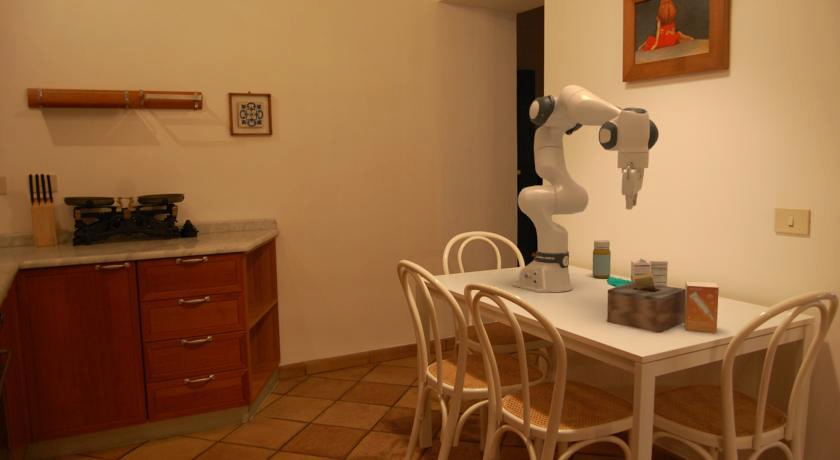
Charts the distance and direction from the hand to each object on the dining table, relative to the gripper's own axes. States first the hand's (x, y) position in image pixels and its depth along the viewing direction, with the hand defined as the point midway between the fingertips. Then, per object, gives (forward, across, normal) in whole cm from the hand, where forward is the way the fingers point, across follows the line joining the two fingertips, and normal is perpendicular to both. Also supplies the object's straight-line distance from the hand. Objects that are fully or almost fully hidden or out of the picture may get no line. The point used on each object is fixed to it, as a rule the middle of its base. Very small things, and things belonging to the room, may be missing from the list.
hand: (631, 207), depth 178 cm
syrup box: (+34, +14, -2) cm, 37 cm away
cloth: (+36, +44, +7) cm, 57 cm away
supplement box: (+35, +31, -5) cm, 47 cm away
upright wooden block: (+24, -9, -6) cm, 26 cm away
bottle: (+36, +57, +17) cm, 69 cm away
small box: (+33, -11, -21) cm, 40 cm away
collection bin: (+33, -9, -6) cm, 35 cm away
